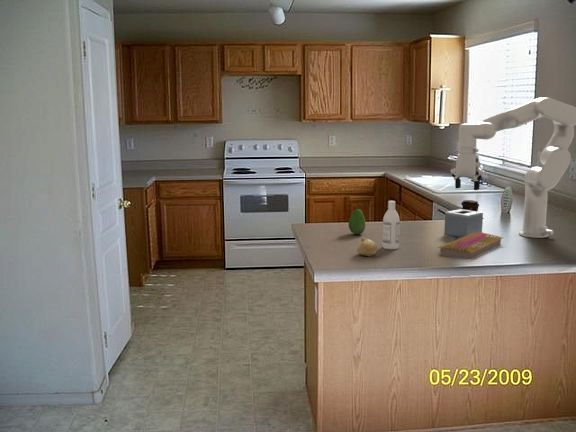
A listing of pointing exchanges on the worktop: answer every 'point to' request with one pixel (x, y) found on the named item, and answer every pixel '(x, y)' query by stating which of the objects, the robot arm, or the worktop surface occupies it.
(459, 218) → the box
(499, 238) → the brown and pink package
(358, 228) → the avocado
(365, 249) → the onion
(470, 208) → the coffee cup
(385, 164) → the worktop surface
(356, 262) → the worktop surface
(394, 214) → the bath foam
